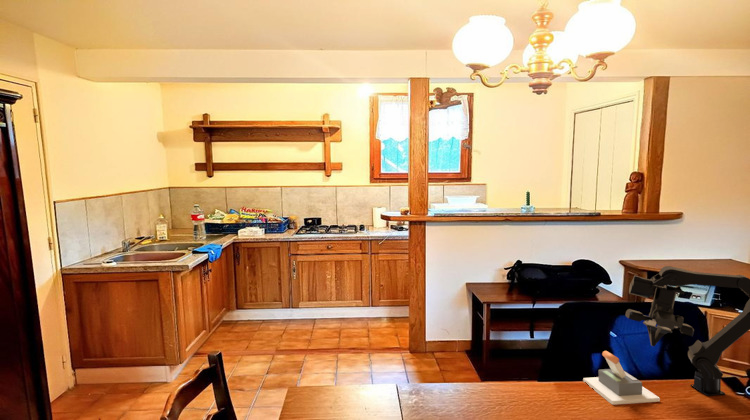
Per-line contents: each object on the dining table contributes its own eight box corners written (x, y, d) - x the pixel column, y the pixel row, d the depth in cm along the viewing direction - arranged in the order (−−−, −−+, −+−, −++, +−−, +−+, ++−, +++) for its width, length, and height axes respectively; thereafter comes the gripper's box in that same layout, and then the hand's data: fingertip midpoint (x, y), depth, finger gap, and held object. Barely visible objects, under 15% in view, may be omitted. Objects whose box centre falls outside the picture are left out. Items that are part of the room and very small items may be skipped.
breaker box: (625, 378, 138) (625, 363, 138) (659, 401, 123) (660, 385, 123) (583, 381, 137) (583, 366, 136) (612, 404, 122) (612, 388, 121)
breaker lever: (616, 368, 132) (606, 349, 131) (627, 376, 127) (617, 356, 126) (611, 372, 132) (601, 352, 131) (622, 379, 127) (611, 359, 126)
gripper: (638, 298, 129) (627, 343, 130) (706, 315, 122) (694, 362, 123) (630, 293, 139) (620, 334, 140) (692, 309, 133) (681, 352, 133)
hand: (652, 345), depth 134 cm, fingers closed
